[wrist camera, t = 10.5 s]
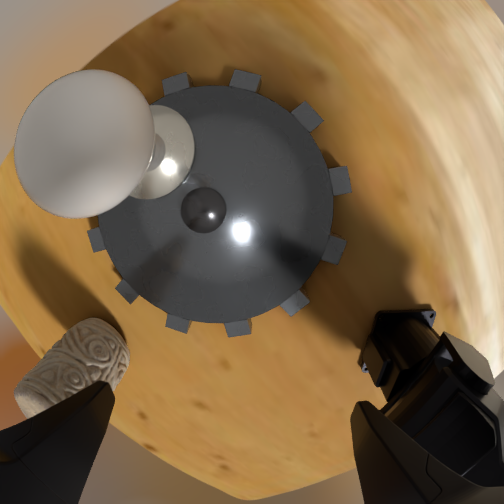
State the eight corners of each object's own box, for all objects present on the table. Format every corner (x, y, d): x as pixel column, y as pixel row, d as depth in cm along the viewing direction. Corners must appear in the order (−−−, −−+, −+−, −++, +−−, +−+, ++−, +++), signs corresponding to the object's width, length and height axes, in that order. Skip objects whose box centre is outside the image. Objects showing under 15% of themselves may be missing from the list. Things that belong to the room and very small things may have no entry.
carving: (67, 318, 23) (-4, 386, 12) (117, 305, 22) (38, 390, 11) (96, 367, 25) (43, 442, 13) (148, 361, 24) (98, 457, 12)
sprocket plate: (348, 85, 16) (356, 77, 14) (327, 330, 22) (332, 343, 20) (99, 92, 17) (86, 87, 15) (108, 313, 22) (98, 324, 20)
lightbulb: (213, 167, 17) (142, 158, 6) (135, 216, 18) (21, 265, 7) (169, 90, 15) (77, 17, 5) (98, 142, 16) (-22, 133, 6)
